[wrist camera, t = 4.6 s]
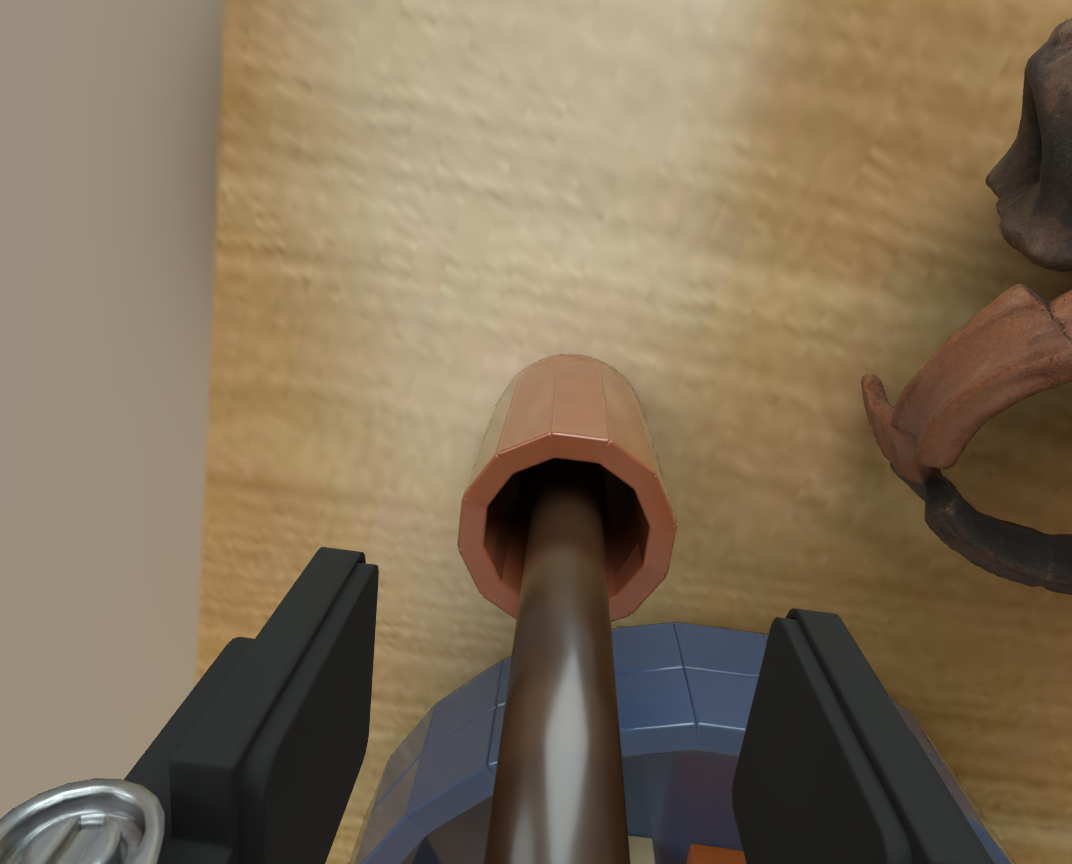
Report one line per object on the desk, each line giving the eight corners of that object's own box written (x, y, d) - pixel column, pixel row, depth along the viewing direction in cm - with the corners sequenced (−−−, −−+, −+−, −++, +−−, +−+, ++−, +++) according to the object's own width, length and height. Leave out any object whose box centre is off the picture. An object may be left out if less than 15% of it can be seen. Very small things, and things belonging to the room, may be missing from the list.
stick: (539, 453, 21) (436, 1217, 5) (545, 404, 20) (454, 1077, 5) (591, 460, 21) (637, 1244, 5) (598, 411, 20) (673, 1108, 5)
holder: (489, 484, 22) (449, 617, 15) (503, 344, 20) (469, 421, 14) (630, 502, 21) (654, 643, 15) (653, 363, 20) (692, 450, 14)
